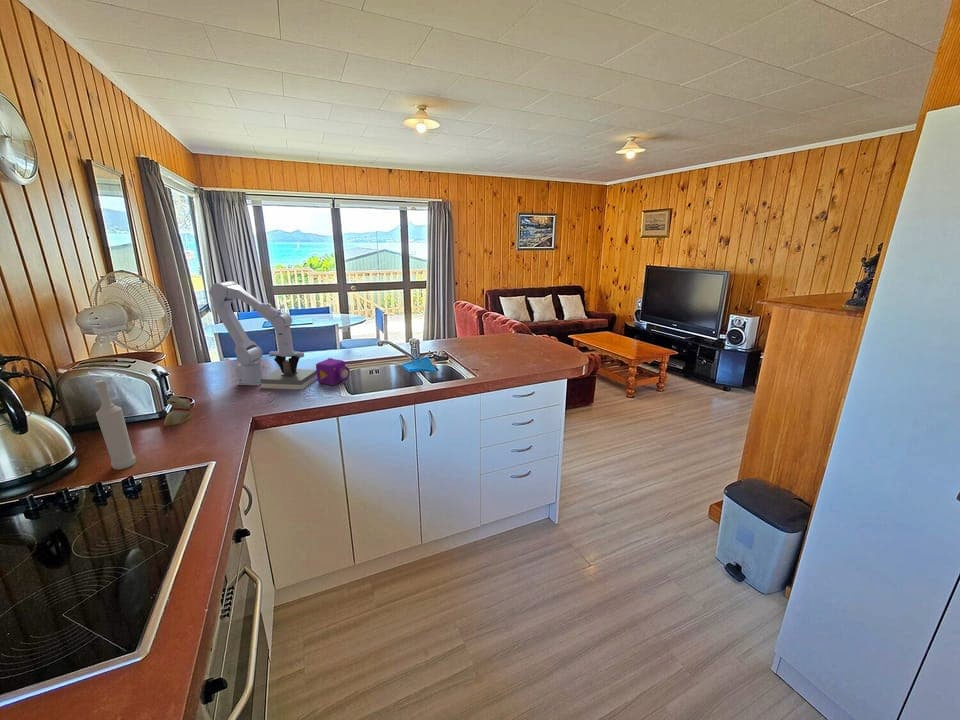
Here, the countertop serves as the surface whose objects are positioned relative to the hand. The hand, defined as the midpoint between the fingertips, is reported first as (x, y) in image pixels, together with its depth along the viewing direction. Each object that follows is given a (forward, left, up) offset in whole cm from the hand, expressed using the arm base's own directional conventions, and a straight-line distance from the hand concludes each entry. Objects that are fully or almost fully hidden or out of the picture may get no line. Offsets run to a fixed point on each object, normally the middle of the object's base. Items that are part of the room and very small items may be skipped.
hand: (289, 372), depth 172 cm
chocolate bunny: (-18, -40, -5) cm, 44 cm away
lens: (0, 0, -2) cm, 2 cm away
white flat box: (0, 0, -5) cm, 5 cm away
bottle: (-11, -67, -5) cm, 68 cm away
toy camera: (+19, +3, -5) cm, 20 cm away
